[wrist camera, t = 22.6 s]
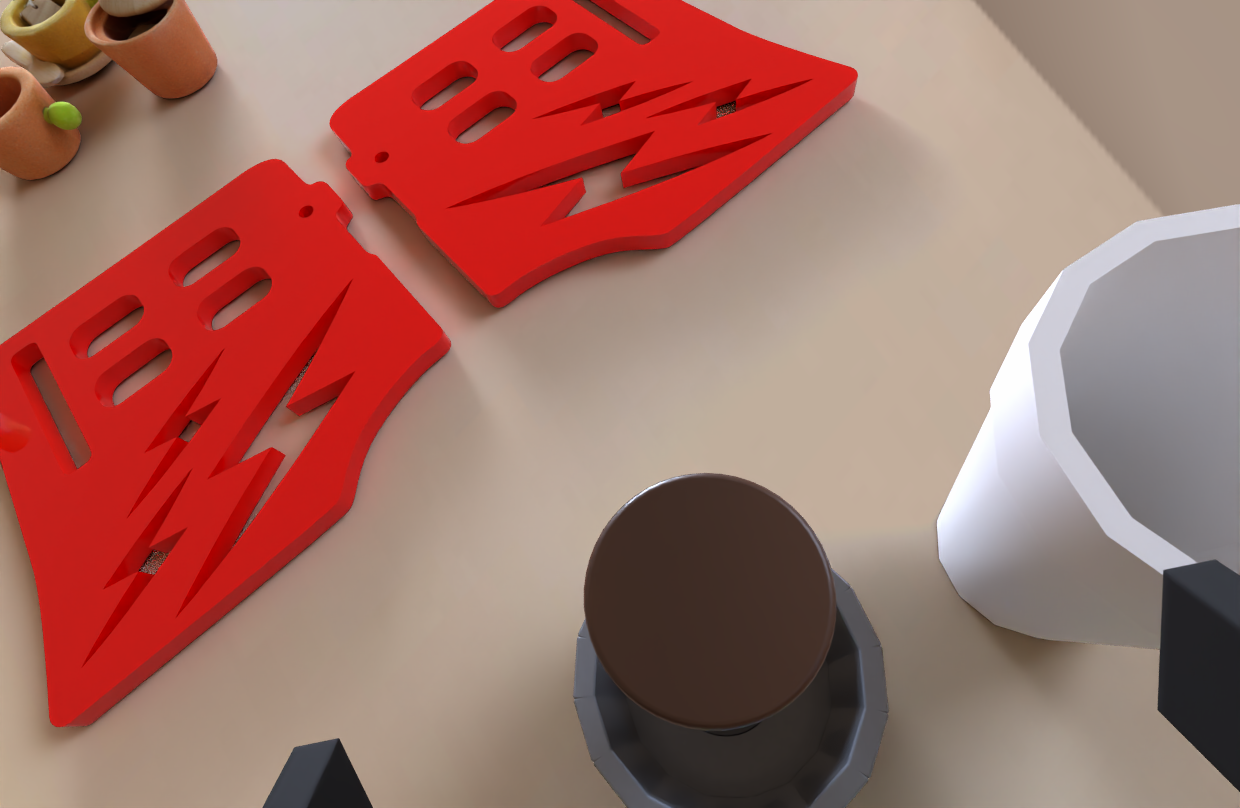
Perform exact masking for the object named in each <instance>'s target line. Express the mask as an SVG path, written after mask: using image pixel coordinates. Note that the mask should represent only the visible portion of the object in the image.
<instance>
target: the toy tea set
mask: <svg viewBox="0 0 1240 808" xmlns="http://www.w3.org/2000/svg"><path fill="white" fill-rule="evenodd" d="M0 28H1V31H2V32H3V33H4V34H5V35H6V36H8V37H9V38H11V39H12V40H13V41H9V42H7V43H5V44H4V45H3V46H2V49H1V50H2V51H3V53H4V54H5V55H6V56H7V57H8V58H9V59H10V60H11V61H13V62H14V63H16V64H18V65H19V66H21V67H23V68H24V69H23V68H19V67H4V68H0V168H2V169H3V170H5V171H7V172H9V173H10V174H12V175H14V176H16V177H19V178H21V179H26V180H34V179H40V178H44V177H47V176H49V175H52V174H54V173H55V172H57V171H59V170H60V169H61V168H63V167H64V166H65V165H66V164H68V163H69V162H70V161H71V159H72V158H73V157H74V156H75V154H76V153H77V151H78V149H79V145H80V141H81V136H80V133H79V130H78V129H77V127H78V126H79V125H80V124H81V122H82V116H81V114H80V112H79V111H78V110H77V109H76V108H75V107H74V106H73V105H71V104H70V103H66V102H55V101H54V100H53V99H52V98H51V96H50V95H49V94H48V93H47V92H46V90H45V89H44V88H45V87H50V86H53V85H66V84H71V83H74V82H78V81H80V80H83V79H85V78H88V77H89V76H91V75H93V74H95V73H97V72H98V71H99V70H101V69H102V68H103V67H104V66H106V65H107V64H108V63H109V62H110V61H111V60H113V61H115V62H116V63H117V64H118V65H119V66H121V67H122V68H123V69H124V70H126V71H127V72H128V73H129V74H130V75H132V76H133V77H134V78H135V79H137V80H138V81H139V82H140V83H141V84H143V85H144V86H145V87H146V88H147V89H149V90H150V91H151V92H152V93H154V94H155V95H157V96H160V97H162V98H171V99H172V98H180V97H184V96H187V95H189V94H192V93H193V92H195V91H197V90H199V89H200V88H202V87H203V86H204V85H205V84H206V83H207V82H208V81H209V80H210V79H211V78H212V76H213V75H214V73H215V70H216V67H217V57H216V54H215V52H214V50H213V49H212V47H211V45H210V43H209V42H208V40H207V38H206V37H205V35H204V33H203V31H202V30H201V28H200V26H199V24H198V23H197V21H196V19H195V18H194V16H193V14H192V12H191V11H190V9H189V7H188V5H187V4H186V2H185V0H13V1H12V2H11V3H10V4H9V5H8V6H7V7H6V9H5V10H4V11H3V13H2V16H1V18H0ZM25 69H26V70H25ZM28 71H29V72H28Z"/></svg>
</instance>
